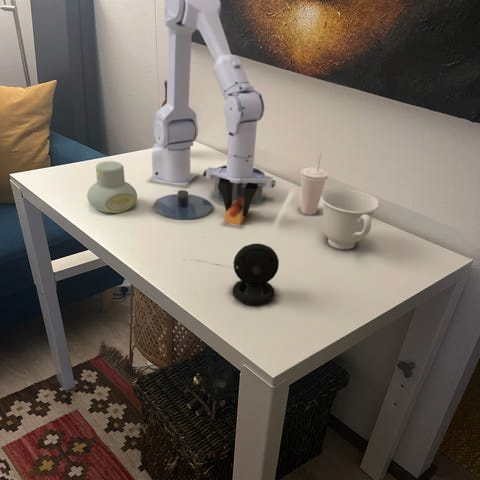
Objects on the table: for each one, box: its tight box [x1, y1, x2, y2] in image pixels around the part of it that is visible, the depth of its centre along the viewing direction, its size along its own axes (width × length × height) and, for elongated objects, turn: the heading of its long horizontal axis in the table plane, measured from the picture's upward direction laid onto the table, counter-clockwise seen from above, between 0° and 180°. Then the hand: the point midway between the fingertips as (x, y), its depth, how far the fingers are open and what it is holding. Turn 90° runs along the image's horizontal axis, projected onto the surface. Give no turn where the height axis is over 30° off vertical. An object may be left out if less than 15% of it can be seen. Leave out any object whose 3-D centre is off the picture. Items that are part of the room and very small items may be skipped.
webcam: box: [232, 243, 280, 306], centre depth 86 cm, size 8×8×10 cm
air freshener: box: [86, 160, 138, 214], centre depth 111 cm, size 11×8×10 cm
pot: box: [202, 164, 277, 206], centre depth 123 cm, size 12×18×6 cm
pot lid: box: [153, 189, 213, 221], centre depth 115 cm, size 13×13×4 cm
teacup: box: [320, 188, 381, 250], centre depth 104 cm, size 12×15×10 cm
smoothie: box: [299, 152, 329, 215], centre depth 116 cm, size 6×6×14 cm
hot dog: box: [224, 197, 245, 226], centre depth 113 cm, size 8×3×4 cm, turn 165°
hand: (236, 213), depth 113 cm, fingers closed on hot dog, 3 cm apart
